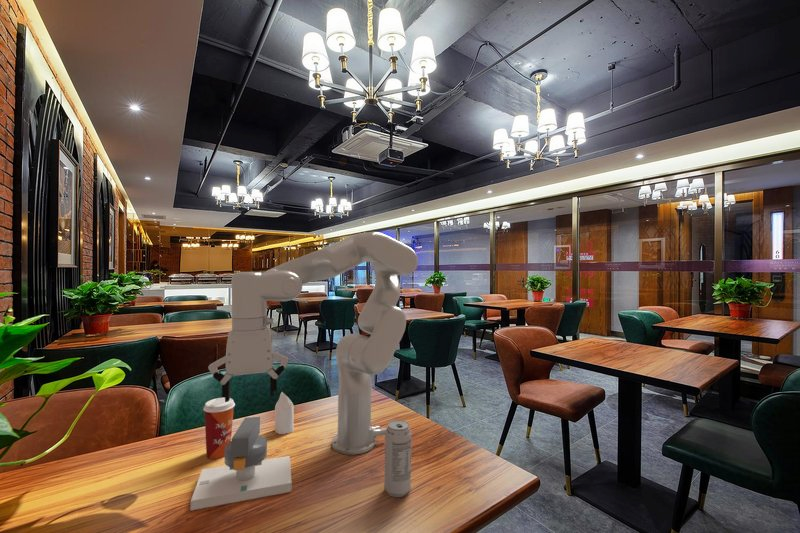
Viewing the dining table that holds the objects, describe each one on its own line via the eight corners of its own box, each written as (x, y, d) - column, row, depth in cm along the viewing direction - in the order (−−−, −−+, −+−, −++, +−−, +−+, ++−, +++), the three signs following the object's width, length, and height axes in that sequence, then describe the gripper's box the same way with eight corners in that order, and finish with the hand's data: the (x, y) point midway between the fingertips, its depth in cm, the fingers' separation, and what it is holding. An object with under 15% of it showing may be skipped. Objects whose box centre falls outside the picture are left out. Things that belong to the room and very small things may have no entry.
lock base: (289, 463, 90) (290, 440, 90) (291, 491, 79) (291, 464, 79) (202, 477, 83) (202, 452, 83) (190, 510, 72) (191, 481, 72)
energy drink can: (404, 480, 84) (406, 417, 84) (414, 495, 78) (415, 428, 78) (381, 485, 82) (382, 421, 82) (389, 501, 76) (390, 432, 76)
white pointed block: (298, 391, 110) (284, 396, 105) (297, 429, 109) (283, 436, 105) (284, 387, 112) (270, 392, 108) (283, 424, 112) (269, 431, 107)
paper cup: (220, 463, 90) (222, 408, 90) (195, 459, 91) (196, 405, 91) (240, 448, 97) (241, 397, 98) (216, 444, 99) (217, 395, 99)
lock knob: (232, 446, 86) (233, 418, 86) (270, 444, 87) (271, 416, 87) (216, 474, 74) (216, 441, 74) (260, 470, 76) (261, 438, 76)
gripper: (287, 319, 88) (288, 387, 88) (211, 324, 82) (211, 396, 82) (288, 324, 81) (289, 397, 81) (204, 329, 75) (205, 408, 75)
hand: (250, 396), depth 82 cm, fingers open, 9 cm apart
